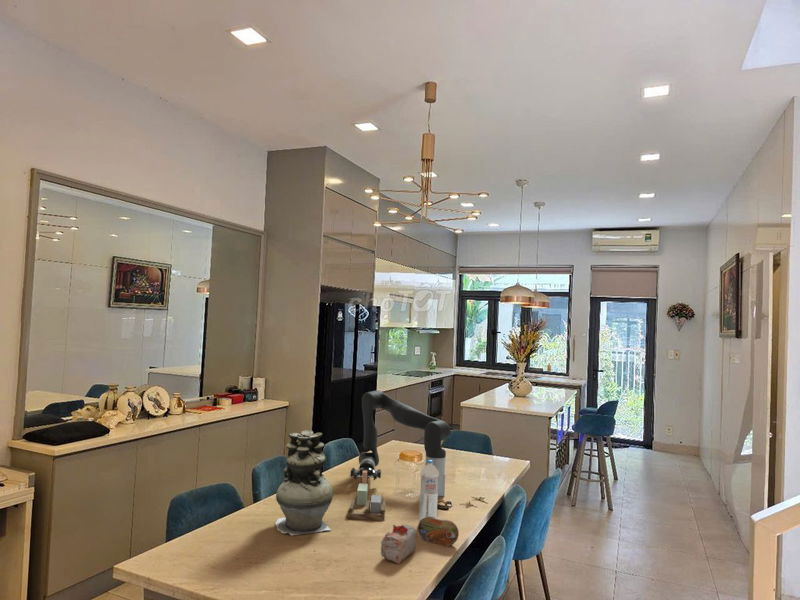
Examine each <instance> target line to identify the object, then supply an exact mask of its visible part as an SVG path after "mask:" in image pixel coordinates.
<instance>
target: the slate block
mask: <svg viewBox="0 0 800 600" xmlns="http://www.w3.org/2000/svg"><path fill="white" fill-rule="evenodd" d="M369 513H374V514H382V495H380V494H379V495H377V494H375V495H374V494H372V495H371V497H370V511H369Z"/></svg>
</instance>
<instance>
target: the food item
mask: <svg viewBox="0 0 800 600" xmlns="http://www.w3.org/2000/svg"><path fill="white" fill-rule="evenodd" d="M392 527H393V528H392V531H391V532H390V531H388V532H387V533H385V535H384V537H383V538H382V540H381V542H380V544H381V546H380V555H381V557H382V558H384V559H386V560H387V561H389V562H392V563H395V564H398V565H399V564H401V563H402V562H403V561H404V559H405V560H406V558H407V557H408V556H410V555H411V554H412V553H413V552H414V551H416V549H417V530H416V528H415V527H413V526H411V525H409V524H401V525H398V526H397V525H396V524H393V526H392Z"/></svg>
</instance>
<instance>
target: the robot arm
mask: <svg viewBox="0 0 800 600" xmlns="http://www.w3.org/2000/svg"><path fill="white" fill-rule="evenodd" d="M377 409H382V410H385V411H387V412H388V413H390V415H391V417H392V418H393V420H395V421H396V422H398V423H399V424H401V425H404V426H406V427H409V428H413V429H419V430H423V431H424V433H423V435H424V438H423V441H424V444H423V445H424V447H423V448H424V451H425V463H424V467H425V466H426V465H427V464H428V460H432V461H433V463H432V464H433V465H434V466H435V467H436V468H437V470H438V472H439V476H438V498H440V497H445V493H446V460H447V459H446V456H447V455H446V454H447V452H446V450H445V449H444V448H442V441H445V440H447V439H448V438H449V437H450V436H451V431H452V430H451V427H450V425H449V424H448V422H446V421H444V420H442V419H439V418H436V417H433V416H429V415H427V414H426V413H423V412H422V411H420V410H418V409H415V408H414V407H412V406H410V405H408V404H405V403H403V402H401V401H398V400H397V399H394V398H392V397H390V396H389V395H387V394H386V393H384V392H383V391H381V390H377V389H376V390H371V391H367V392H365V393H364V394H363V395H362V396H361V410H362V418H363V420H362V421H363V440H362V443H363V444H362V447H363V448H364V449H365V450H367V451H363V452H360V454H359V456H358V463H359V467H358V469H355V467H352V468H351V470H350V474H349V475H350V477H351V478H353V479H354V480H357V478H362V472H363V471H367V479H369V478H371V479H372V480H373V481H376V480H377V479H380V478H381V477H382V470H381V468H379V469H377V470H376V467H378V465H379V463H380V456H379V452H378V431H377V430H378V429H377V427H376V425H375V422H374V419H373V418H374V417H373V413H374V410H377ZM369 451H371V452H369Z"/></svg>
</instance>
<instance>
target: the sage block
mask: <svg viewBox="0 0 800 600" xmlns="http://www.w3.org/2000/svg"><path fill="white" fill-rule="evenodd" d="M367 481H368V478H367V471H363V472H362V477H361V483H359V484H358V486H357V490H356V492H357V493H356V506H366V505H367V503H366V502H367V500H368V498H367V497H368V494H369V483H368V482H367Z"/></svg>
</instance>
